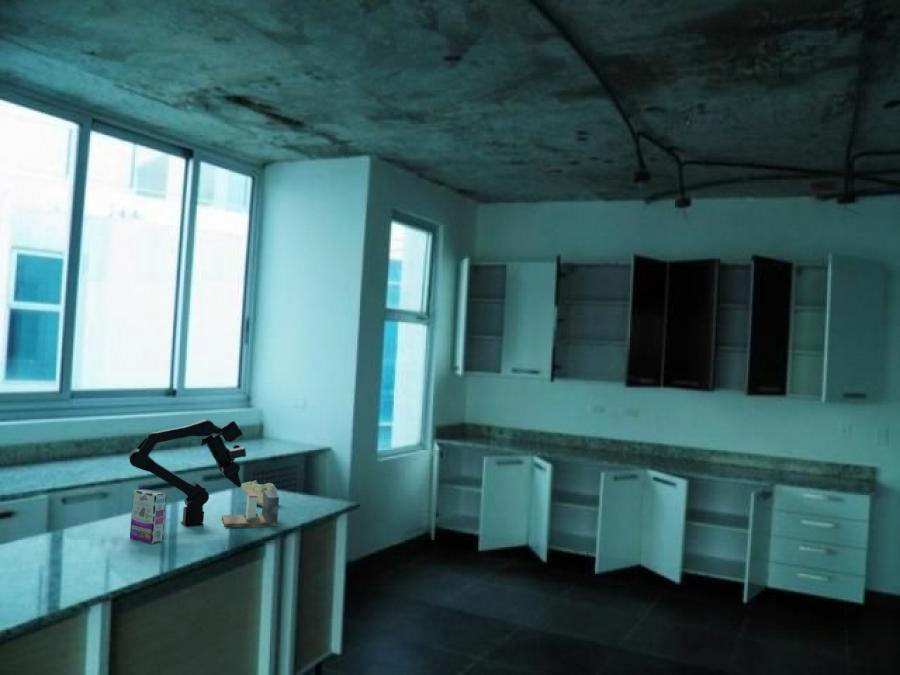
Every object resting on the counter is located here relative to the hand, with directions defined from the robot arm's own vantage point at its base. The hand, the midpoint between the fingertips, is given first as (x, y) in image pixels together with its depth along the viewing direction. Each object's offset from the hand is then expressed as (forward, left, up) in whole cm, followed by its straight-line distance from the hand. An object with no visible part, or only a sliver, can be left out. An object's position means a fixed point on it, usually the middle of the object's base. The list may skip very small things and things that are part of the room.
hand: (238, 484), depth 276 cm
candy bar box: (-35, -12, -15) cm, 40 cm away
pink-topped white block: (+5, -2, -13) cm, 14 cm away
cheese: (+19, +27, -15) cm, 36 cm away
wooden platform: (+4, -2, -14) cm, 15 cm away
